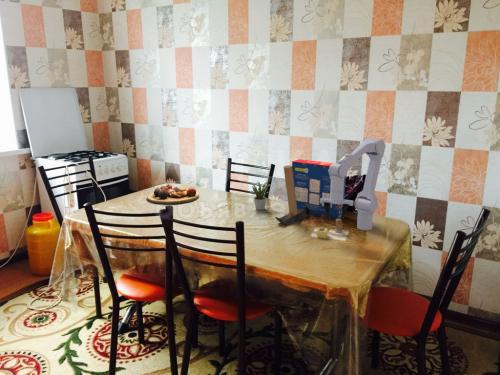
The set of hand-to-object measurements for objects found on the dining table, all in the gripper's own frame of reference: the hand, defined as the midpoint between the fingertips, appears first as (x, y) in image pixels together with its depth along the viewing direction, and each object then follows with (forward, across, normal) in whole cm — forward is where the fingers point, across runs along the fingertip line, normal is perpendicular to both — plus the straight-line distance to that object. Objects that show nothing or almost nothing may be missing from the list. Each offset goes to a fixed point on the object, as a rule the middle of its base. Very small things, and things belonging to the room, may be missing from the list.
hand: (335, 219), depth 194 cm
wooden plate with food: (+10, -106, +41) cm, 114 cm away
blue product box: (+10, -16, +37) cm, 41 cm away
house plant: (+10, -46, +36) cm, 60 cm away
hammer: (+10, -24, +20) cm, 33 cm away
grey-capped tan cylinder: (+9, 0, +8) cm, 12 cm away
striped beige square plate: (+9, -3, +4) cm, 11 cm away
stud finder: (+9, -6, 0) cm, 10 cm away
